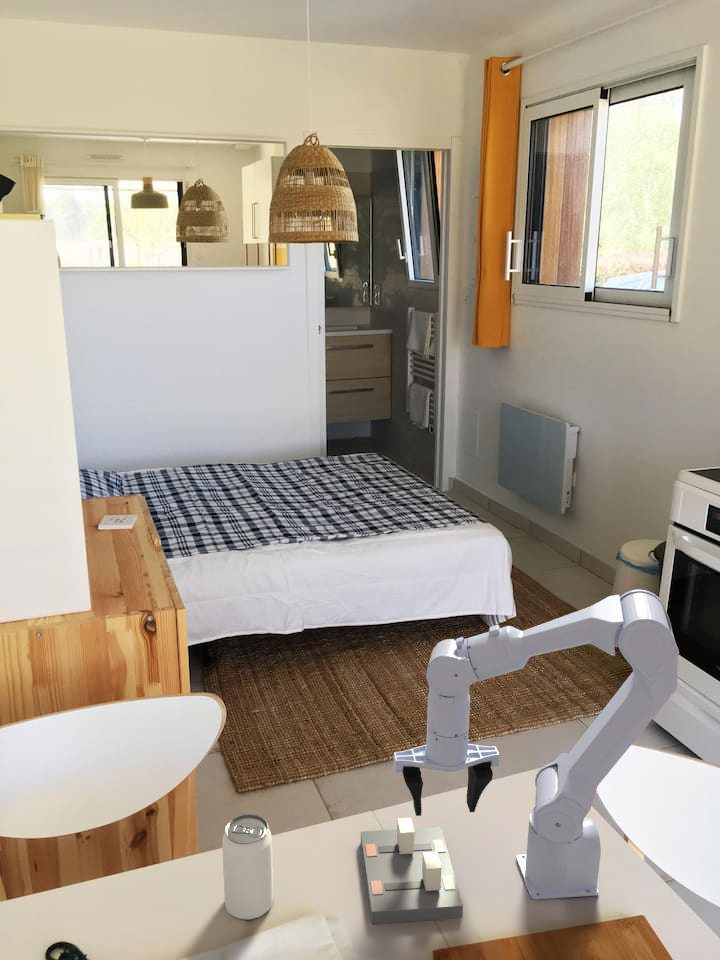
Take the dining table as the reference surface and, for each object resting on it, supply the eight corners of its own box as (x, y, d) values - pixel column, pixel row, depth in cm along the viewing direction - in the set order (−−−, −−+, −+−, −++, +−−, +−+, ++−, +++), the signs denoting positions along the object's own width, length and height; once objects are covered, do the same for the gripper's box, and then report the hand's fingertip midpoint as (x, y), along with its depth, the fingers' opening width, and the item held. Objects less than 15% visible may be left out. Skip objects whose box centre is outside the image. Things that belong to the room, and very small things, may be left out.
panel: (440, 838, 123) (441, 826, 122) (462, 918, 108) (462, 905, 108) (360, 842, 121) (360, 830, 121) (371, 924, 107) (371, 911, 106)
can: (265, 925, 107) (262, 849, 103) (217, 917, 108) (214, 841, 104) (279, 888, 113) (277, 815, 109) (234, 881, 114) (231, 808, 111)
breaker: (436, 873, 113) (437, 851, 112) (440, 890, 110) (441, 867, 109) (422, 874, 112) (422, 852, 111) (425, 890, 109) (426, 868, 108)
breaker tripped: (410, 838, 119) (411, 817, 118) (413, 853, 116) (414, 832, 115) (396, 839, 119) (397, 818, 118) (399, 854, 116) (400, 832, 115)
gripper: (492, 706, 117) (487, 787, 121) (391, 712, 115) (389, 794, 119) (505, 735, 110) (499, 820, 114) (398, 741, 109) (396, 827, 113)
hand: (444, 809), depth 116 cm, fingers open, 7 cm apart
